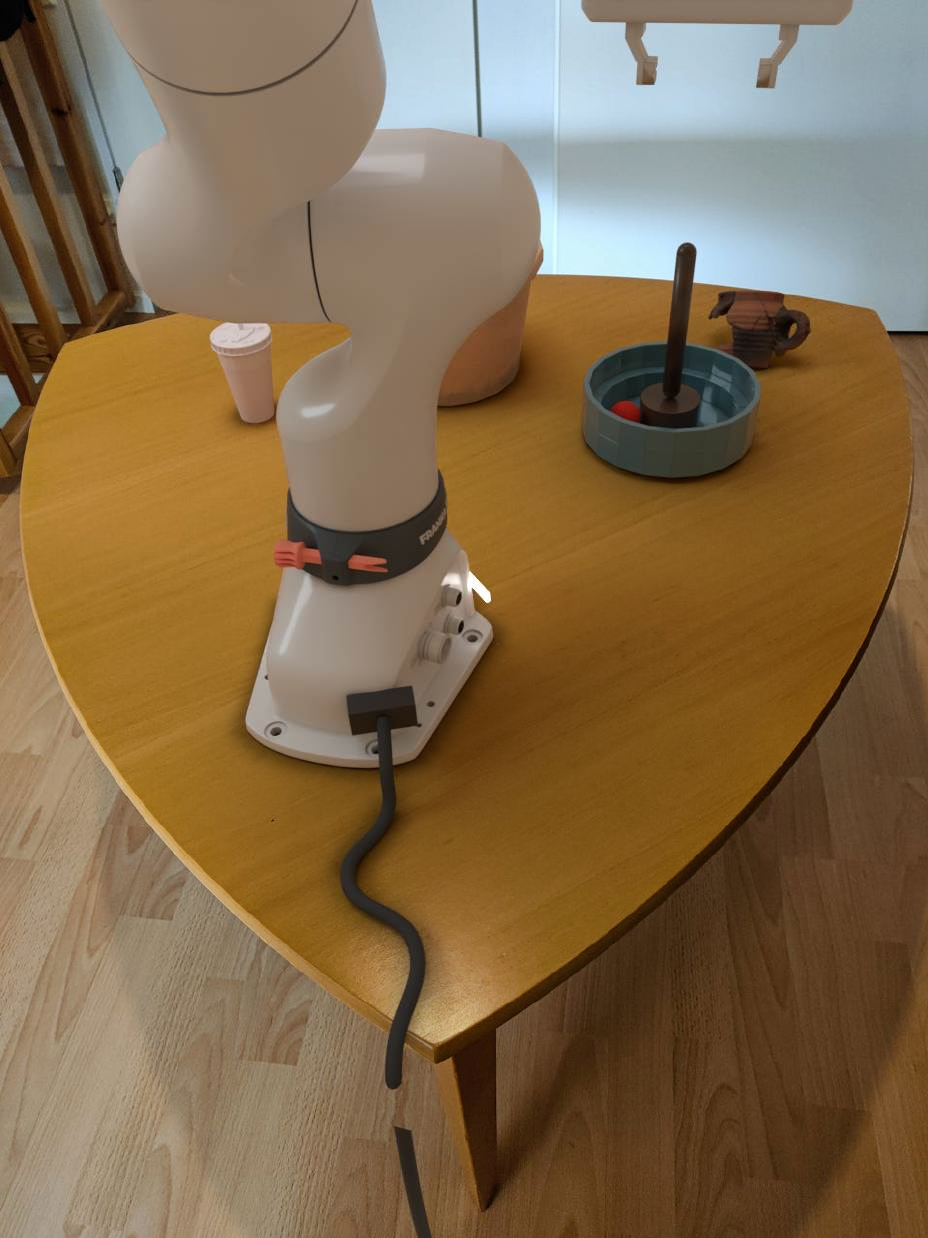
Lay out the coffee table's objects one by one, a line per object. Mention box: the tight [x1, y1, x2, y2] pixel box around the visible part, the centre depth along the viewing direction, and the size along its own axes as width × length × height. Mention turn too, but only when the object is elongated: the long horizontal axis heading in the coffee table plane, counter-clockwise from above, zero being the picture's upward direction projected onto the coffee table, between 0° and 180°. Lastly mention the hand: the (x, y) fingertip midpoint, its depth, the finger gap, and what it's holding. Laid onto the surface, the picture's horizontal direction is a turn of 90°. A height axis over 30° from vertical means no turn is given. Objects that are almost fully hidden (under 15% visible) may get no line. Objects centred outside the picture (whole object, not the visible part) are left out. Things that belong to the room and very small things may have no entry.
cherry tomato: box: [610, 401, 641, 423], centre depth 101 cm, size 3×3×3 cm
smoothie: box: [209, 322, 275, 424], centre depth 105 cm, size 6×6×14 cm
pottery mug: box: [707, 290, 812, 369], centre depth 113 cm, size 12×10×8 cm
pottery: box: [437, 240, 545, 407], centre depth 110 cm, size 22×22×14 cm
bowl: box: [581, 340, 762, 479], centre depth 101 cm, size 17×17×6 cm
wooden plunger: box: [639, 241, 701, 429], centre depth 97 cm, size 6×6×19 cm
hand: (705, 84), depth 80 cm, fingers open, 8 cm apart
